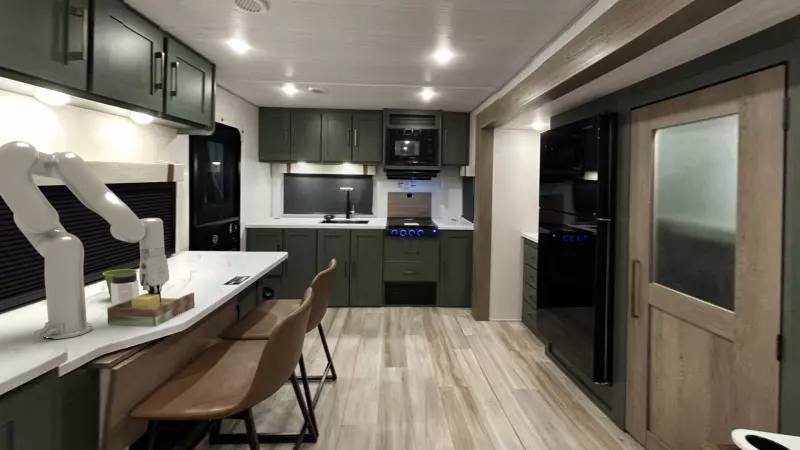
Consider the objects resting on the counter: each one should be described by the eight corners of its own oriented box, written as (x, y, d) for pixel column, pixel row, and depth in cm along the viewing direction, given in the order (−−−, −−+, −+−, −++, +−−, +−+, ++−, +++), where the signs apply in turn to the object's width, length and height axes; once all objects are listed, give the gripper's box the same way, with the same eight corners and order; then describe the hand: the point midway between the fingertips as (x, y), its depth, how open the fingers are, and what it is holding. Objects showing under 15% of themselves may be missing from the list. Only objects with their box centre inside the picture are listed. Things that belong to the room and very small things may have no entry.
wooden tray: (155, 326, 142) (155, 309, 142) (108, 324, 144) (107, 308, 143) (194, 306, 165) (194, 292, 164) (152, 305, 166) (152, 291, 166)
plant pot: (122, 304, 168) (121, 275, 167) (96, 302, 170) (94, 274, 169) (145, 296, 179) (144, 269, 178) (120, 294, 181) (119, 268, 180)
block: (148, 313, 146) (148, 299, 145) (132, 313, 146) (131, 298, 146) (160, 308, 152) (159, 294, 151) (143, 308, 152) (143, 294, 152)
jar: (111, 309, 160) (110, 278, 159) (111, 304, 167) (110, 274, 165) (139, 306, 165) (138, 275, 164) (138, 301, 172) (137, 271, 170)
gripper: (148, 256, 145) (151, 309, 147) (175, 249, 160) (177, 298, 162) (127, 256, 146) (130, 309, 147) (156, 249, 160) (159, 297, 162)
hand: (155, 303), depth 155 cm, fingers closed
